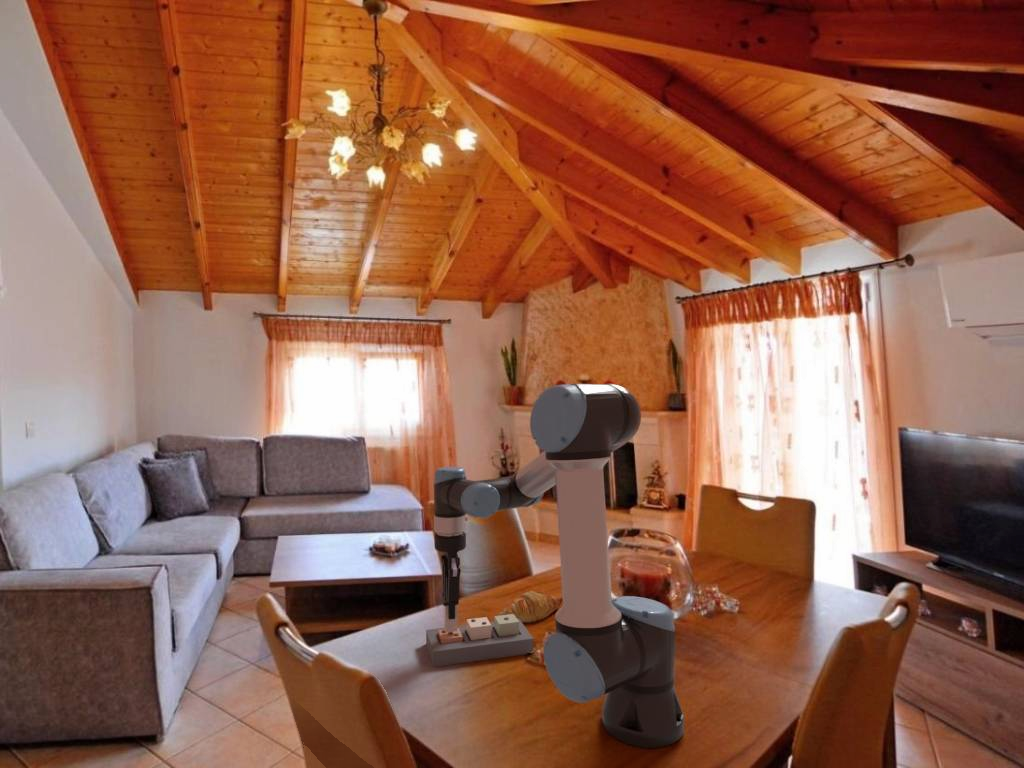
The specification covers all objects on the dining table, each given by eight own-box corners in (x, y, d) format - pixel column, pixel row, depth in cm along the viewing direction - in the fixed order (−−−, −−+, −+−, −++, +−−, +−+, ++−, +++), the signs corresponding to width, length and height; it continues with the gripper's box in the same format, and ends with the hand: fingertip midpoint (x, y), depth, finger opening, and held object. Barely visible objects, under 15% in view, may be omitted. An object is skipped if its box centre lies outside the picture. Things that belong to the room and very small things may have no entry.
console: (533, 653, 140) (533, 638, 140) (433, 666, 133) (433, 651, 133) (519, 632, 151) (519, 618, 151) (426, 643, 145) (426, 629, 144)
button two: (491, 637, 140) (491, 624, 140) (470, 640, 139) (470, 626, 139) (486, 629, 145) (486, 616, 145) (466, 631, 144) (466, 618, 144)
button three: (462, 649, 138) (462, 635, 138) (441, 651, 137) (441, 638, 137) (458, 640, 143) (458, 627, 143) (438, 642, 142) (438, 629, 142)
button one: (519, 634, 142) (519, 621, 142) (499, 636, 141) (499, 623, 141) (513, 625, 147) (513, 613, 147) (494, 628, 146) (494, 615, 146)
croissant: (503, 641, 154) (510, 619, 151) (486, 612, 161) (492, 591, 158) (566, 621, 165) (574, 600, 162) (547, 595, 173) (555, 574, 170)
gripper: (471, 537, 135) (471, 640, 135) (460, 524, 147) (461, 618, 147) (438, 540, 133) (439, 644, 133) (430, 527, 145) (431, 621, 145)
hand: (450, 630), depth 140 cm, fingers closed
